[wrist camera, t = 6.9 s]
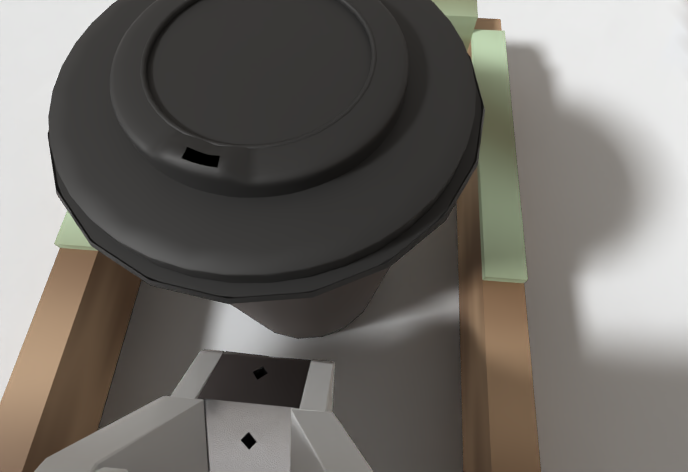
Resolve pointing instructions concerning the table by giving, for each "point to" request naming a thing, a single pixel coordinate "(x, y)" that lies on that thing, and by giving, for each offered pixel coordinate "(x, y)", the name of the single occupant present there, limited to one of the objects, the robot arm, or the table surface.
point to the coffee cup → (265, 146)
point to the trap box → (474, 307)
